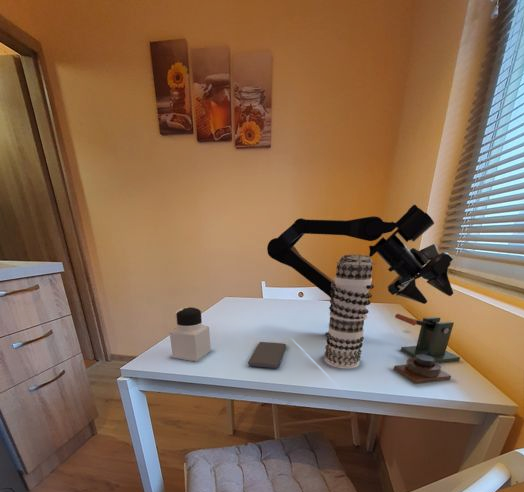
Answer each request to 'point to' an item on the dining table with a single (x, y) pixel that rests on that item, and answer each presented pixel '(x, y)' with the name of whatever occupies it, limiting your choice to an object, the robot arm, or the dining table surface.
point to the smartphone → (267, 355)
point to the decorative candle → (348, 310)
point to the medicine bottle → (189, 335)
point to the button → (424, 360)
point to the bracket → (433, 342)
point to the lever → (417, 322)
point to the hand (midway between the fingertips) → (438, 299)
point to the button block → (421, 372)
